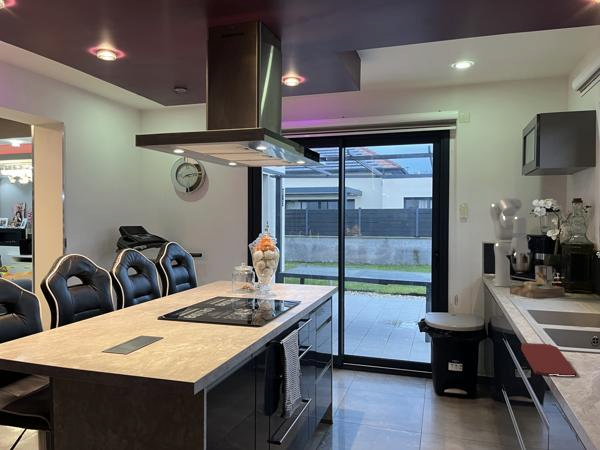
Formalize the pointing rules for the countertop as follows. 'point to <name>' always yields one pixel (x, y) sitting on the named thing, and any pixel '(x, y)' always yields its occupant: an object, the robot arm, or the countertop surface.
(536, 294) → the wooden cutting board
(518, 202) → the robot arm
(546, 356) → the dark red flat piece
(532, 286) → the maple block
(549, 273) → the coffee box
